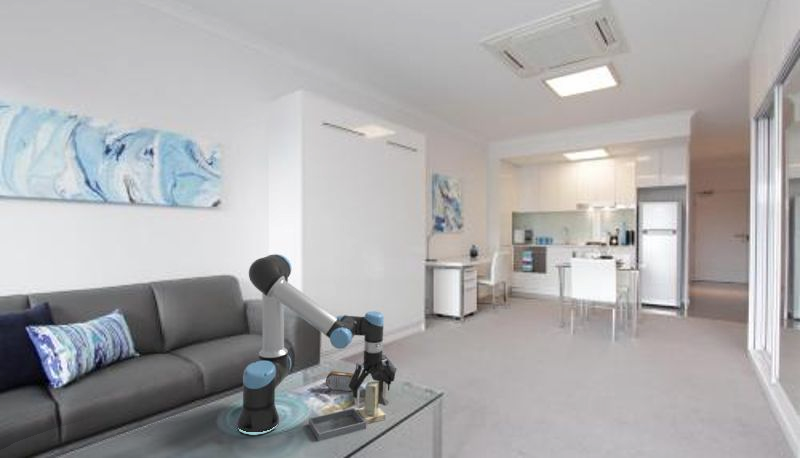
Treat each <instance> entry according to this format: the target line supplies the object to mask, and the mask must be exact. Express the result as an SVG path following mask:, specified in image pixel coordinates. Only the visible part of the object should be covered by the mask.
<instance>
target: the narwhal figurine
mask: <svg viewBox="0 0 800 458" xmlns="http://www.w3.org/2000/svg"><path fill="white" fill-rule="evenodd" d="M384 359H386V360H388V361H389V367H390V370H391V373H392V375H393V378H394V379H395V376H396V372H397V370H398V368H397V367H395V366H394V364H392V362H391V361H390V359H389V358H388V357H387V356H386V355H385V354H382V360H384ZM380 368H381V370H382V371H383V373H384V374H385V375H386V377H387V378H389V377H388V375H387V372H386V370H385V367H384V365H383V364H382V366H381V367H380ZM370 375H371V379H370V380H376V381H379V400H378V404H380V405H382V406H387V405H388V404H389V403H390V402H389V400H388V399H387V400H385V399H384V398H383V382H386V381H385V380H384V379H383V377H382V376H381V375H380V374H379V372H377V373H372V374H370ZM392 382H393V381H391V383H392Z"/></svg>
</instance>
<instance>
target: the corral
mask: <svg viewBox="0 0 800 458" xmlns="http://www.w3.org/2000/svg"><path fill="white" fill-rule="evenodd" d="M350 416H353V417H354V418H355V419H356V421H358V423H353V424H351V425H350V424H349V425H346V426H343V427H339V428H334V429H331V430H330V429H329V430H327V431H323V432H320V431H319V430H318V428H317V426H316V424H320V423H324V422H325V423H326V422H329V421H333V420H337V419H341V418H345V417H350ZM308 426H309V428H310V429H311V430H312V432H313V434H314V436H315V437H316V439H317V440H318V442H320V441H324V440H328V439H332V438H335V437H339V436H342V435H346V434H350V433H353V432H357V431H363V430H364V429H366V428H367V424H366V421H365V420H364V419H363V418H362V417H361V415H360V414H359V413H358V412H357V411H356V408H355V407H353V408H348V409H344V410H343V409H342V410H339V411H335V412H331V413H326V414H321V415H318V416H314V417H309V418H308Z"/></svg>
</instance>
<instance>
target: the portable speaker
mask: <svg viewBox="0 0 800 458" xmlns="http://www.w3.org/2000/svg"><path fill="white" fill-rule="evenodd" d="M353 375H354V373H352V372H345V371H331V372H329V373H328V375H327V376H326V379H325V384H326V387H327V388H328V389H330V390H331V391H338V392H345V393H346V392H347V393H351V392H353V390H351V389H350V388H349V384H350V382H351V379H352V377H353Z"/></svg>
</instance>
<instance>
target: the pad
mask: <svg viewBox="0 0 800 458" xmlns="http://www.w3.org/2000/svg"><path fill="white" fill-rule="evenodd" d="M355 410H356V411H357V412H358V413H359V414H360V415H361V417H362V418H363V419H364V420H365V421H366V425H368V424H372V423H376V422H381V421H385V420H386V413H385V412H384V411H383V410H382V409H381V408H380V407H379V406H378V410H377V412H376V414H375V416H372V415H365V406H364V407H361V408H355Z"/></svg>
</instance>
